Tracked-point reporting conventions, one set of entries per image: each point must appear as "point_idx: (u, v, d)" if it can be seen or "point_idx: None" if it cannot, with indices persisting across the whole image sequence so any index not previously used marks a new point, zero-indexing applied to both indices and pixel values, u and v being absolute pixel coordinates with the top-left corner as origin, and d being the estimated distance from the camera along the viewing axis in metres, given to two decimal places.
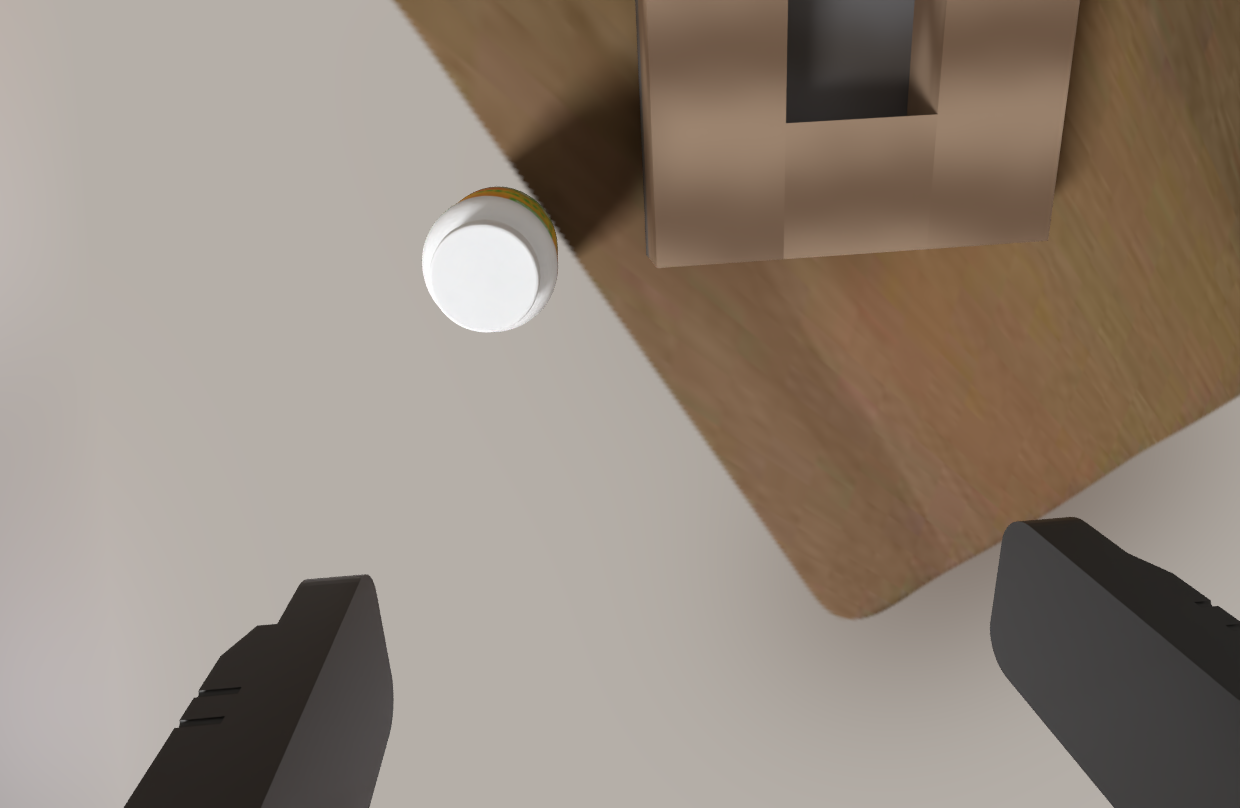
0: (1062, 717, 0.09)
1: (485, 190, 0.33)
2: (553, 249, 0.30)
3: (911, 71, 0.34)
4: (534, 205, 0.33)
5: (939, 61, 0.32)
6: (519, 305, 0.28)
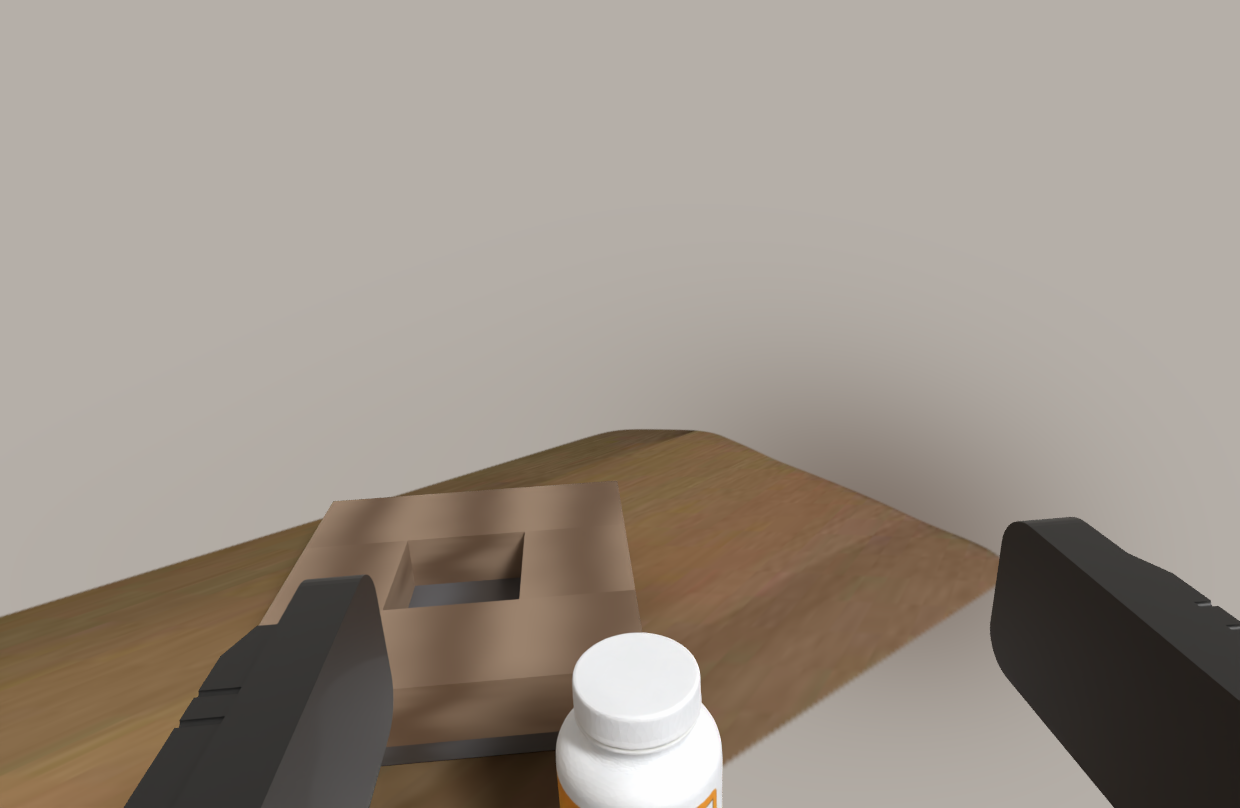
0: (1062, 717, 0.09)
1: None
2: None
3: (496, 575, 0.44)
4: None
5: (488, 537, 0.43)
6: (664, 644, 0.25)
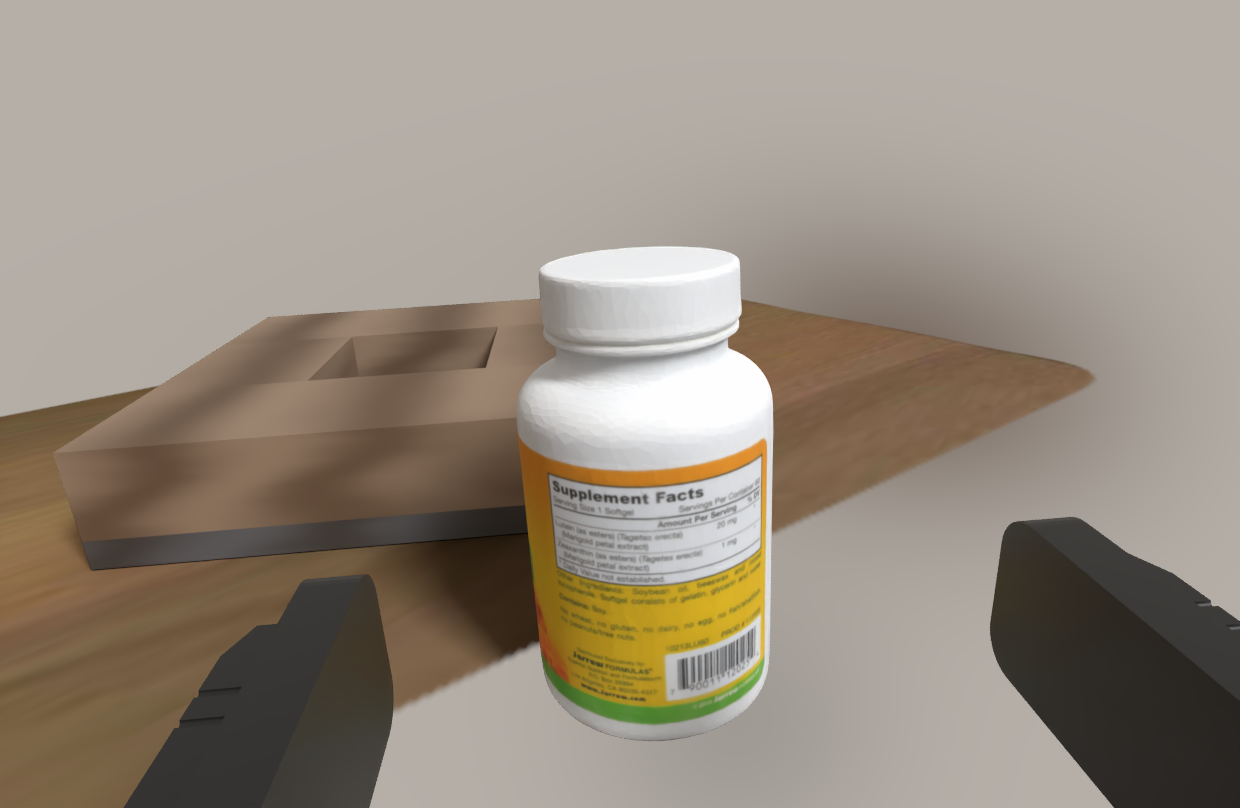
0: (1062, 717, 0.09)
1: (532, 571, 0.17)
2: None
3: None
4: None
5: (452, 334, 0.35)
6: (681, 249, 0.16)
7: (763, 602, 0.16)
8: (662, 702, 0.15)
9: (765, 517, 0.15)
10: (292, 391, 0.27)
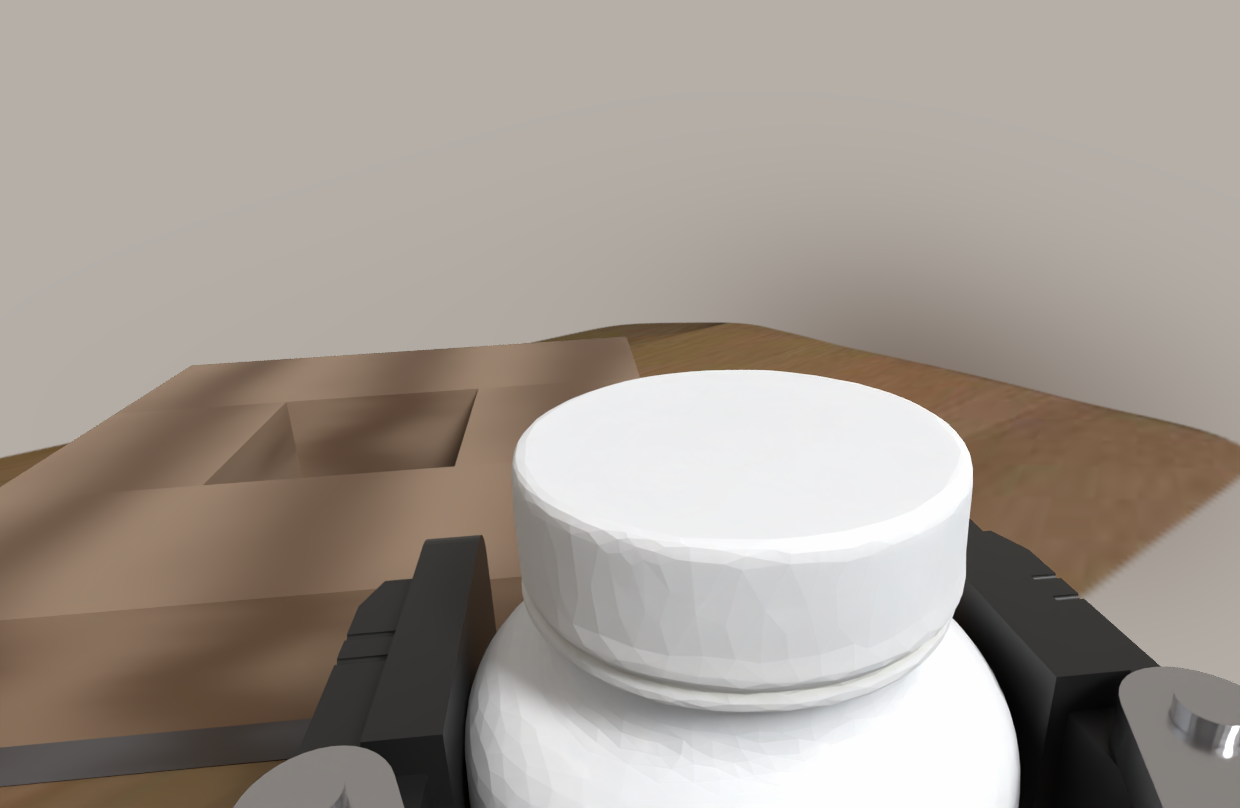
0: None
1: None
2: None
3: (434, 464, 0.27)
4: None
5: (418, 398, 0.27)
6: (805, 384, 0.08)
7: None
8: None
9: None
10: (174, 507, 0.19)
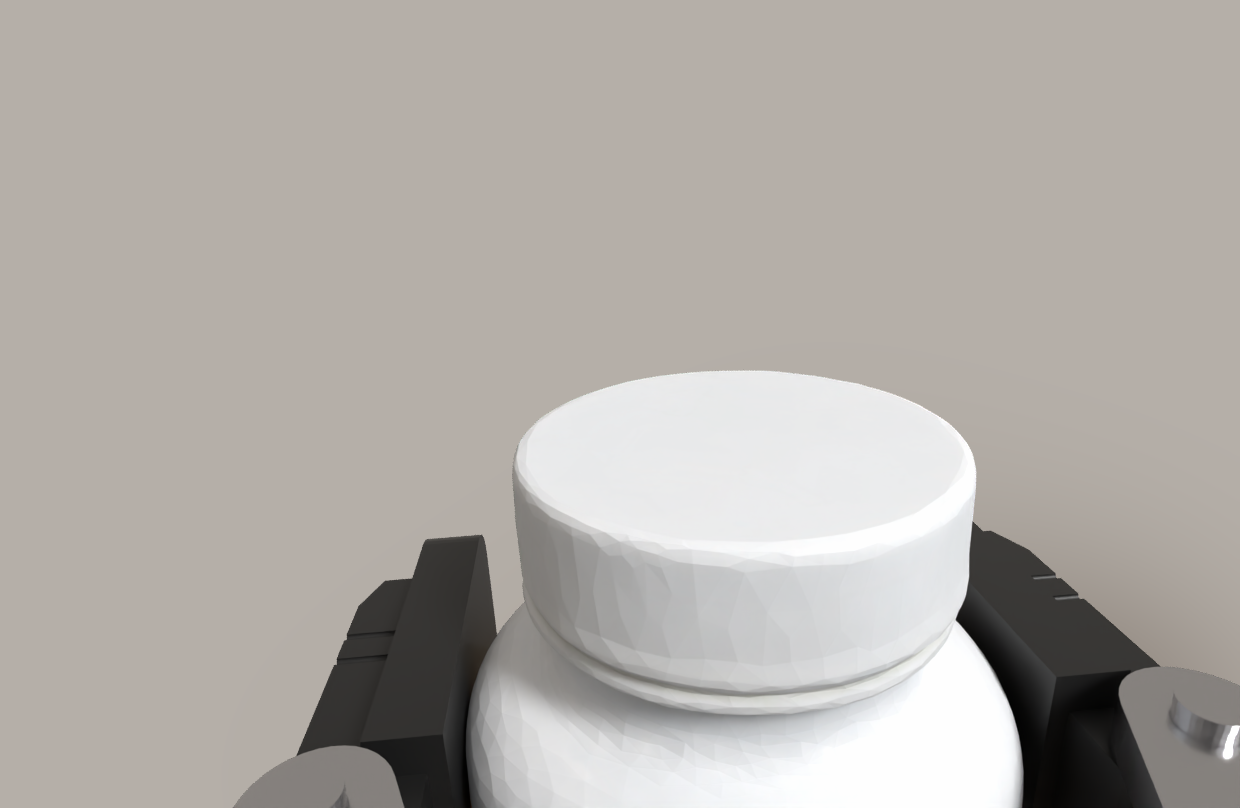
0: None
1: None
2: None
3: None
4: None
5: None
6: (807, 385, 0.08)
7: None
8: None
9: None
10: None
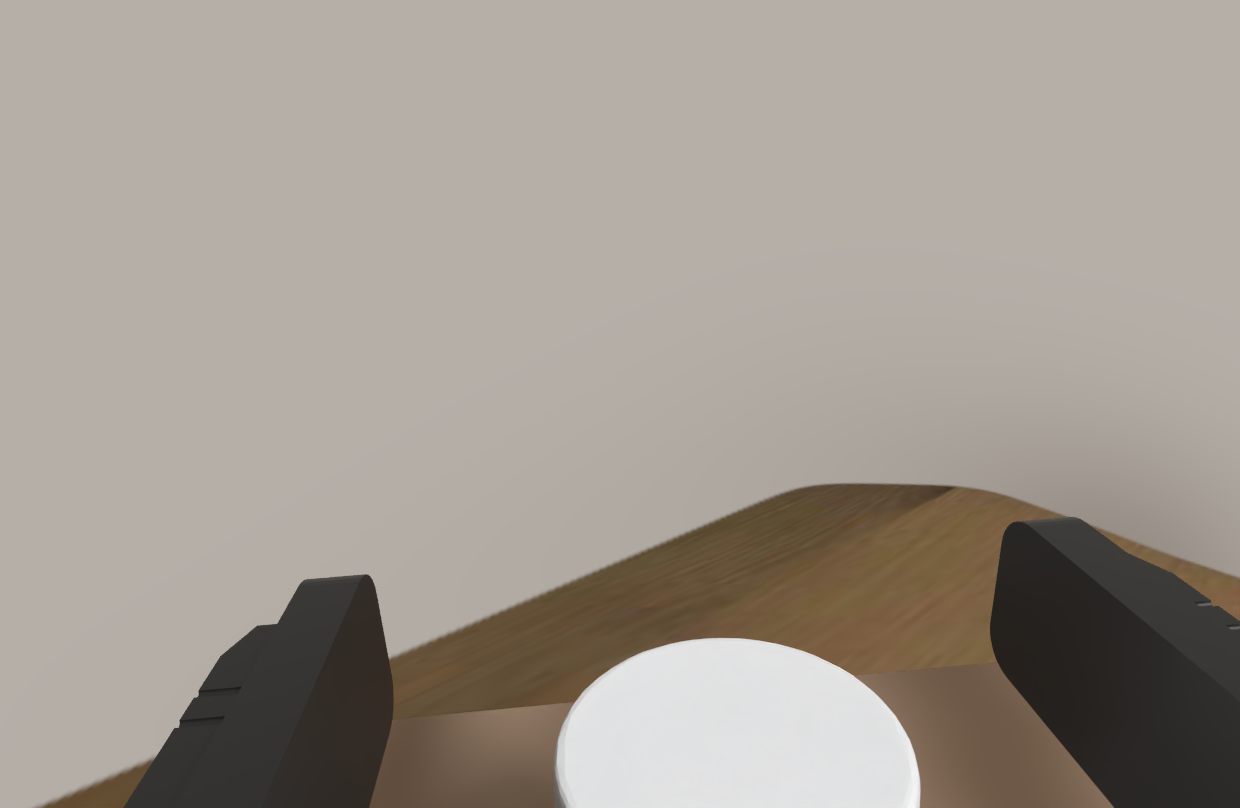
0: (1062, 717, 0.09)
1: None
2: None
3: None
4: None
5: None
6: (792, 666, 0.10)
7: None
8: None
9: None
10: None
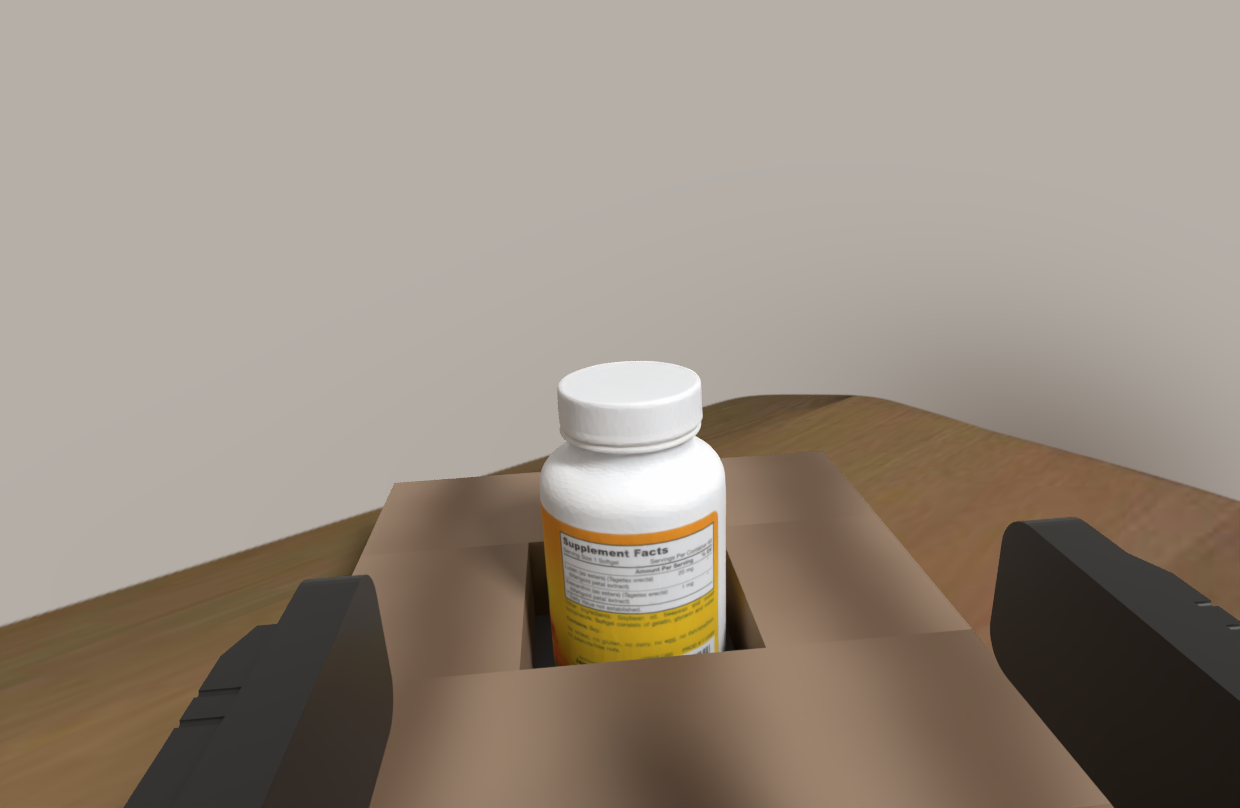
0: (1062, 717, 0.09)
1: None
2: None
3: None
4: None
5: None
6: (662, 366, 0.22)
7: (716, 627, 0.22)
8: None
9: (717, 566, 0.21)
10: (511, 703, 0.19)
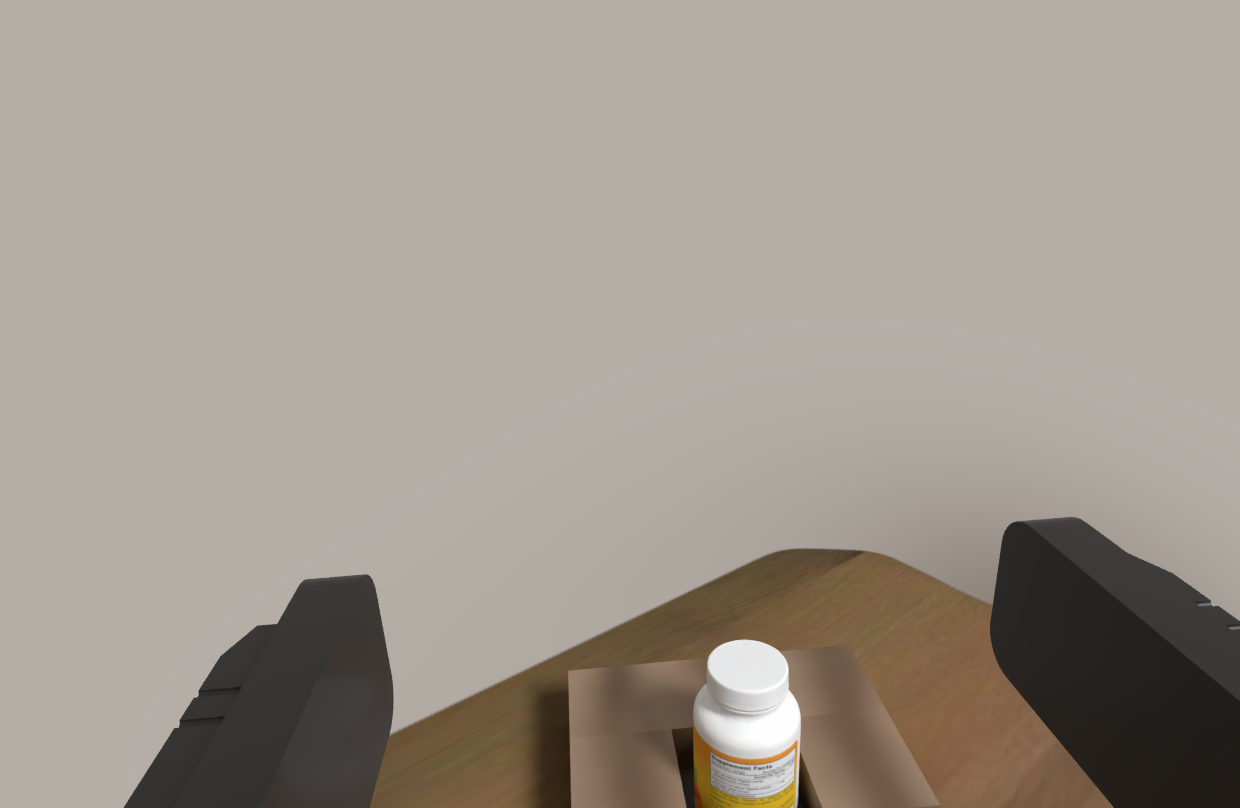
0: (1062, 717, 0.09)
1: (694, 776, 0.39)
2: None
3: None
4: None
5: None
6: (763, 648, 0.38)
7: (794, 799, 0.38)
8: None
9: (796, 767, 0.38)
10: None
